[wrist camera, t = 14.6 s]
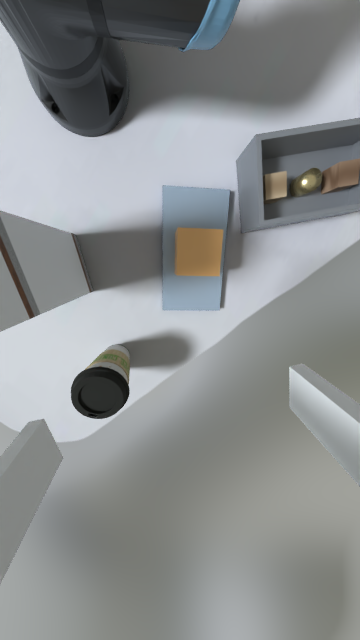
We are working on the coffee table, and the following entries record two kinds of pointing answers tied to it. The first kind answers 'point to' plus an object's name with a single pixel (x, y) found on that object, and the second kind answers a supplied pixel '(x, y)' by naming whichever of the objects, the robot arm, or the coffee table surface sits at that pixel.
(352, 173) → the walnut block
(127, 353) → the coffee cup
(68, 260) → the tall white vase
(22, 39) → the robot arm
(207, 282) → the lid
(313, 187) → the brass slug
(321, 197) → the tub
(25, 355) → the coffee table surface
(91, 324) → the coffee table surface
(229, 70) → the coffee table surface
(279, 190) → the pale wood block
